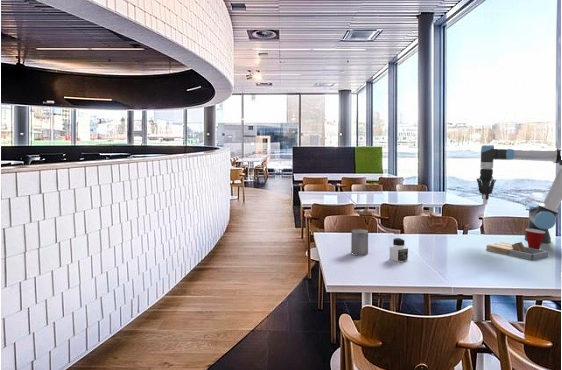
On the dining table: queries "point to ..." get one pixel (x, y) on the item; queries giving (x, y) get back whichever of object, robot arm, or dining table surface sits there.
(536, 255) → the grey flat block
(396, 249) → the medicine bottle
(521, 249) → the brown square block
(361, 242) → the pillar candle
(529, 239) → the plastic cup
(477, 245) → the dining table surface
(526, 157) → the robot arm
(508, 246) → the board
